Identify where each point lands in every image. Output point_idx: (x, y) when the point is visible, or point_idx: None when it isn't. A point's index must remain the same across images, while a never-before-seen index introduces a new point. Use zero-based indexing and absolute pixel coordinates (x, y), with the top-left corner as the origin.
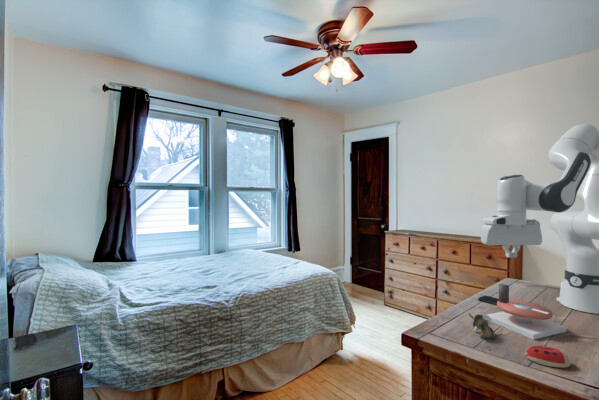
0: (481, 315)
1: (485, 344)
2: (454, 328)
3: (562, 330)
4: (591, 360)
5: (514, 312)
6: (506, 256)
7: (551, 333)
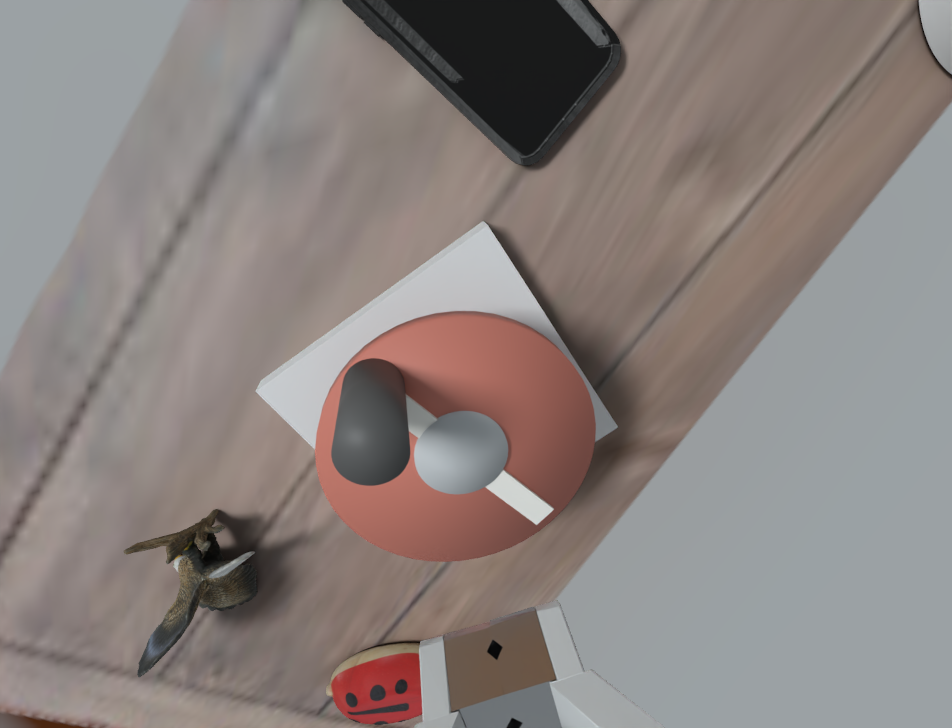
0: (179, 635)
1: (210, 641)
2: (82, 551)
3: None
4: None
5: (374, 540)
6: (424, 654)
7: None
